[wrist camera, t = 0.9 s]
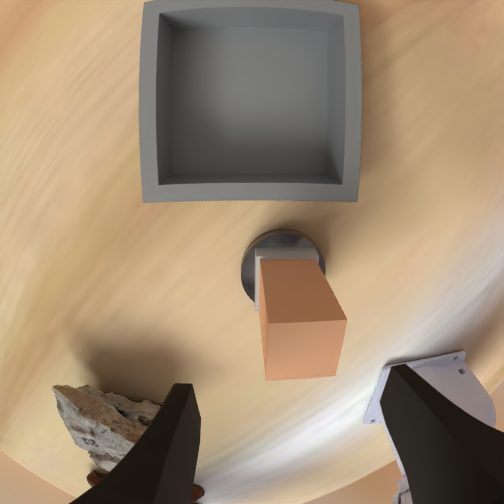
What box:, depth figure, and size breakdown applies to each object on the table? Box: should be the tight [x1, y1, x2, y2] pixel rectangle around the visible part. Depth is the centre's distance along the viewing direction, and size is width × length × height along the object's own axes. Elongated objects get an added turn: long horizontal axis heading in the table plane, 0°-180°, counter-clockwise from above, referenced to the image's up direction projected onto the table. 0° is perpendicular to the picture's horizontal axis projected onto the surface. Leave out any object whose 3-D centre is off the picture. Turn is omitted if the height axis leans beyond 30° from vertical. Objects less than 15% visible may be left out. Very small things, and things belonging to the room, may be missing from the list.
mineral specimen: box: [51, 385, 161, 472], centre depth 21 cm, size 10×8×10 cm
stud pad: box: [241, 229, 325, 302], centre depth 19 cm, size 5×5×1 cm
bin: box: [139, 0, 362, 203], centre depth 14 cm, size 10×10×4 cm
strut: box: [255, 248, 347, 380], centre depth 15 cm, size 3×3×7 cm
